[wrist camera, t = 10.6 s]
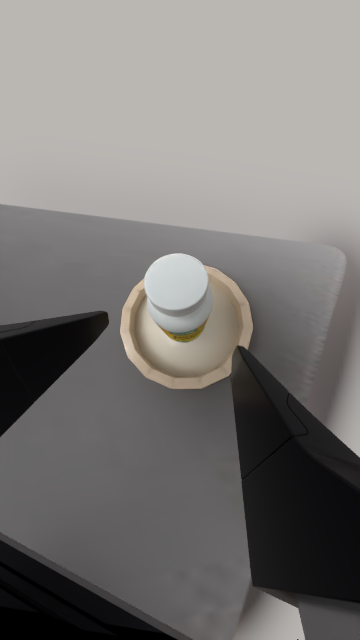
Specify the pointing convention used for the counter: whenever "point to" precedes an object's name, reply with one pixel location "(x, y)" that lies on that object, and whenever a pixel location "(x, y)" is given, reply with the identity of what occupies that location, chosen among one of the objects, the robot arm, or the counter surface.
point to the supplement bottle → (179, 296)
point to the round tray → (192, 357)
